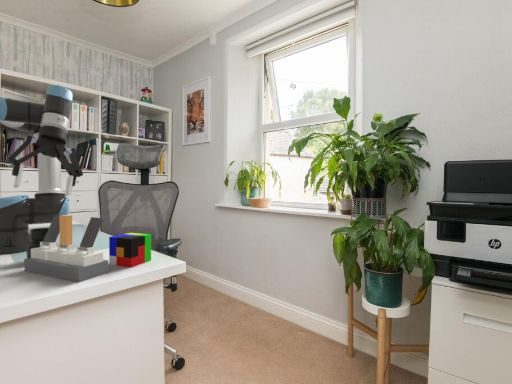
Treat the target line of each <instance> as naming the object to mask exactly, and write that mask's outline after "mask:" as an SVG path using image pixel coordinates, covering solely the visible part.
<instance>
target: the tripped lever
mask: <svg viewBox="0 0 512 384" xmlns="http://www.w3.org/2000/svg"><path fill="white" fill-rule="evenodd" d="M59 224H60V233H59V244H60V247H61V248H65V249H67V246H68V245H73V215H71V214H68V215H60V216H59Z"/></svg>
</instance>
